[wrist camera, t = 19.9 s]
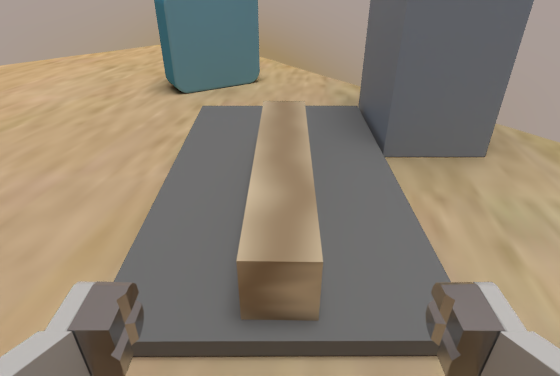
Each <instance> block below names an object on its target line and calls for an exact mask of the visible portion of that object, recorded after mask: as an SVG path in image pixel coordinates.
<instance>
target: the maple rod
mask: <svg viewBox="0 0 560 376" xmlns="http://www.w3.org/2000/svg"><path fill="white" fill-rule="evenodd" d="M236 262H237V275H238V288H239V301H240V314H241V319H244V320H308V321H319V308H320V295H321V283H322V270H323V256H322V248H321V239H320V230H319V222H318V213H317V204H316V196H315V187H314V178H313V169H312V161H311V152H310V143H309V135H308V126H307V117H306V108H305V101H264V102H263V108H262V114H261V119H260V125H259V131H258V137H257V143H256V149H255V155H254V160H253V166H252V172H251V178H250V184H249V190H248V196H247V202H246V207H245V213H244V219H243V225H242V231H241V237H240V243H239V249H238V254H237V260H236Z"/></svg>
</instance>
